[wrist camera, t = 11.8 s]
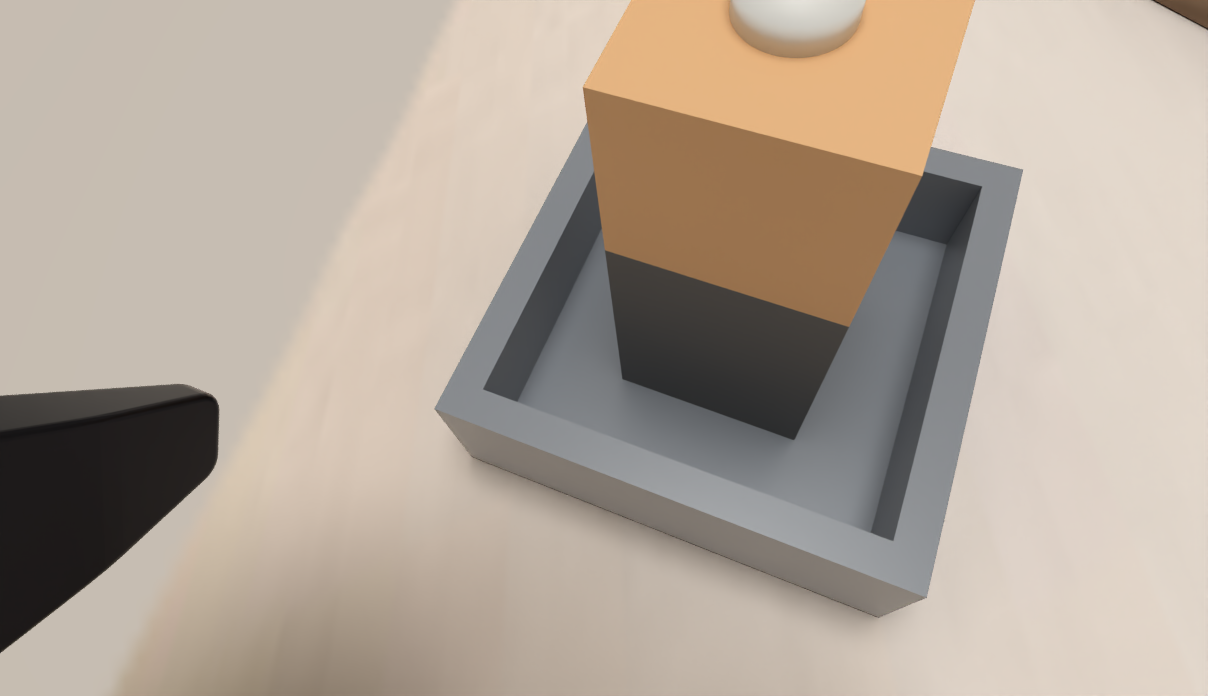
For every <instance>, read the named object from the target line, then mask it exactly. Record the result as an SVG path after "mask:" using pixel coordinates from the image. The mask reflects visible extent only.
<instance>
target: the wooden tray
mask: <svg viewBox="0 0 1208 696" xmlns="http://www.w3.org/2000/svg"><path fill="white" fill-rule="evenodd" d="M1155 1H1157V2H1159V3H1161V4H1162V5H1164V6H1166V7H1168V8H1170V9H1172V10H1174V11H1176V12H1178V13H1179V14H1181V15H1183V16H1185V17H1187V18H1189V19H1191V20H1193V21H1195V22H1196V23H1198V24H1200V25H1202V26H1204V27H1206V28H1208V0H1155Z"/></svg>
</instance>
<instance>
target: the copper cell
mask: <svg viewBox="0 0 1208 696" xmlns="http://www.w3.org/2000/svg"><path fill="white" fill-rule="evenodd" d="M974 2H975V0H631V2H630V4H629V5H628V7H627V9H626V11H625V13H624V14H623V16H622V18H621V20H620V21H619V23H618V25H617V27H616V29H615V30H614V32H613V34H612V36H611V38H610V39H609V41H608V43H607V45H606V47H605V48H604V50H603V52H602V54H601V56H600V57H599V59H598V61H597V63H596V64H595V66H594V68H593V70H592V72H591V73H590V75H589V77H588V79H587V81H586V82H585V84H584V86H583V92H584V100H585V107H586V114H587V122H588V129H589V136H590V144H591V151H592V159H593V166H594V173H595V181H596V188H597V196H598V203H599V210H600V218H601V225H602V232H603V240H604V247H605V255H606V262H607V269H608V277H609V284H610V292H611V299H612V306H613V314H614V321H615V328H616V336H617V343H618V351H619V358H620V365H621V373H622V379H623V380H626V381H629V382H632V383H635V384H638V385H640V386H643V387H646V388H649V389H652V390H654V391H657V392H660V393H663V394H666V395H668V396H671V397H674V398H677V399H680V400H682V401H685V402H688V403H691V404H694V405H696V406H699V407H702V408H705V409H708V410H710V411H713V412H716V413H719V414H722V415H724V416H727V417H730V418H733V419H736V420H739V421H741V422H744V423H747V424H750V425H753V426H755V427H758V428H761V429H764V430H767V431H769V432H772V433H775V434H778V435H781V436H783V437H786V438H789V439H792V440H795V438H796V436H797V434H798V432H799V430H800V427H801V425H802V423H803V421H804V419H805V417H806V415H807V413H808V411H809V409H810V407H811V405H812V403H813V401H814V399H815V396H816V394H817V392H818V390H819V388H820V386H821V384H822V382H823V380H824V378H825V376H826V374H827V372H828V370H829V368H830V365H831V363H832V361H833V359H834V357H835V355H836V353H837V351H838V349H839V347H840V345H841V343H842V341H843V339H844V336H845V334H846V332H847V330H848V328H849V326H850V324H851V322H852V320H853V318H854V316H855V314H856V312H857V310H858V308H859V305H860V303H861V301H862V299H863V297H864V295H865V293H866V291H867V289H868V287H869V285H870V283H871V281H872V279H873V277H874V274H875V272H876V270H877V268H878V266H879V264H880V262H881V260H882V258H883V256H884V254H885V252H886V250H887V248H888V246H889V243H890V241H891V239H892V237H893V235H894V233H895V231H896V229H897V227H898V225H899V223H900V221H901V219H902V217H903V215H904V212H905V210H906V208H907V206H908V204H909V202H910V200H911V198H912V196H913V194H914V192H915V190H916V188H917V186H918V184H919V181H920V179H921V177H922V175H923V171H924V168H925V165H926V161H927V158H928V155H929V151H930V148H931V145H932V142H933V138H934V135H935V132H936V128H937V125H938V122H939V118H940V115H941V112H942V108H943V105H944V102H945V98H946V95H947V92H948V88H949V85H950V82H951V78H952V75H953V72H954V68H955V65H956V62H957V58H958V55H959V52H960V48H961V45H962V42H963V38H964V35H965V32H966V28H967V25H968V22H969V18H970V15H971V12H972V8H973V5H974Z"/></svg>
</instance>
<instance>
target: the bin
mask: <svg viewBox="0 0 1208 696" xmlns="http://www.w3.org/2000/svg"><path fill="white" fill-rule="evenodd" d="M1022 172H1023V170H1022V169H1018V168H1014V167H1010V166H1006V165H1002V164H998V163H994V162H990V161H986V160H982V159H977V158H973V157H969V156H965V155H961V154H957V153H953V152H949V151H945V150H941V149H937V148H933V147H931V148H930V151H929V155H928V158H927V161H926V165H925V168H924V171H923V175H922V177H921V179H920V181H919V184H918V186H917V188H916V190H915V192H914V194H913V196H912V198H911V200H910V202H909V204H908V206H907V208H906V210H905V212H904V215H903V217H902V219H901V221H900V223H899V225H898V227H897V229H896V231H895V233H894V235H893V237H892V239H891V241H890V243H889V246H888V248H887V250H886V252H885V254H884V256H883V258H882V260H881V262H880V264H879V266H878V268H877V270H876V272H875V274H874V277H873V279H872V281H871V283H870V285H869V287H868V289H867V291H866V293H865V295H864V297H863V299H862V301H861V303H860V305H859V308H858V310H857V312H856V314H855V316H854V318H853V320H852V322H851V324H850V326H849V328H848V330H847V332H846V334H845V336H844V339H843V341H842V343H841V345H840V347H839V349H838V351H837V353H836V355H835V357H834V359H833V361H832V363H831V365H830V368H829V370H828V372H827V374H826V376H825V378H824V380H823V382H822V384H821V386H820V388H819V390H818V392H817V394H816V396H815V399H814V401H813V403H812V405H811V407H810V409H809V411H808V413H807V415H806V417H805V419H804V421H803V423H802V425H801V427H800V430H799V432H798V434H797V436H796V438H795V440H792V439H789V438H786V437H783V436H781V435H778V434H775V433H772V432H769V431H767V430H764V429H761V428H758V427H755V426H753V425H750V424H747V423H744V422H741V421H739V420H736V419H733V418H730V417H727V416H724V415H722V414H719V413H716V412H713V411H710V410H708V409H705V408H702V407H699V406H696V405H694V404H691V403H688V402H685V401H682V400H680V399H677V398H674V397H671V396H668V395H666V394H663V393H660V392H657V391H654V390H652V389H649V388H646V387H643V386H640V385H638V384H635V383H632V382H629V381H626V380H623V379H622V373H621V365H620V358H619V351H618V343H617V336H616V328H615V321H614V314H613V306H612V299H611V292H610V284H609V277H608V269H607V262H606V255H605V247H604V240H603V232H602V225H601V218H600V210H599V203H598V196H597V188H596V181H595V173H594V166H593V159H592V151H591V144H590V136H589V129H588V122H587V124H586V125H585V127H584V129H583V131H582V133H581V135H580V137H579V139H578V140H577V142H576V144H575V146H574V148H573V150H572V152H571V154H570V155H569V157H568V159H567V161H566V163H565V165H564V167H563V169H562V170H561V172H560V174H559V176H558V178H557V180H556V182H555V184H554V185H553V187H552V189H551V191H550V193H549V195H548V197H547V199H546V200H545V202H544V204H543V206H542V208H541V210H540V212H539V214H538V215H537V217H536V219H535V221H534V223H533V225H532V227H531V229H530V230H529V232H528V234H527V236H526V238H525V240H524V242H523V244H522V245H521V247H520V249H519V251H518V253H517V255H516V257H515V259H514V261H513V262H512V264H511V266H510V268H509V270H508V272H507V274H506V276H505V277H504V279H503V281H502V283H501V285H500V287H499V289H498V291H497V292H496V294H495V296H494V298H493V300H492V302H491V304H490V306H489V307H488V309H487V311H486V313H485V315H484V317H483V319H482V321H481V322H480V324H479V326H478V328H477V330H476V332H475V334H474V336H473V337H472V339H471V341H470V343H469V345H468V347H467V349H466V351H465V352H464V354H463V356H462V358H461V360H460V362H459V364H458V366H457V367H456V369H455V371H454V373H453V375H452V377H451V379H450V381H449V382H448V384H447V386H446V388H445V390H444V392H443V394H442V396H441V397H440V399H439V401H438V403H437V405H436V407H435V410H436V411H437V413H438V414H439V415H440V417H441V418H442V419H443V420H444V422H445V423H446V424H447V426H448V427H449V428H450V429H451V431H452V432H453V433H454V434H455V436H456V437H457V438H458V440H459V441H460V442H461V443H462V445H463V446H464V447H465V448H466V450H467V451H468V452H469V454H470V455H471V456H472V457H474V458H477V459H479V460H482V461H484V462H487V463H489V464H492V465H494V466H497V467H499V468H502V469H504V470H507V471H509V472H512V473H515V474H517V475H520V476H522V477H525V478H527V479H530V480H532V481H535V482H537V483H540V484H542V485H545V486H547V487H550V488H552V489H555V490H558V491H560V492H563V493H565V494H568V495H570V496H573V497H575V498H578V499H580V500H583V501H585V502H588V503H590V504H593V505H595V506H598V507H601V508H603V509H606V510H608V511H611V512H613V513H616V514H618V515H621V516H623V517H626V518H628V519H631V520H633V521H636V522H638V523H641V524H644V525H646V526H649V527H651V528H654V529H656V530H659V531H661V532H664V533H666V534H669V535H671V536H674V537H676V538H679V539H681V540H684V541H687V542H689V543H692V544H694V545H697V546H699V547H702V548H704V549H707V550H709V551H712V552H714V553H717V554H719V555H722V556H724V557H727V558H730V559H732V560H735V561H737V562H740V563H742V564H745V565H747V566H750V567H752V568H755V569H757V570H760V571H762V572H765V573H767V574H770V575H773V576H775V577H778V578H780V579H783V580H785V581H788V582H790V583H793V584H795V585H798V586H800V587H803V588H805V589H808V590H810V591H813V592H816V593H818V594H821V595H823V596H826V597H828V598H831V599H833V600H836V601H838V602H841V603H843V604H846V605H848V606H851V607H853V608H856V609H859V610H861V611H864V612H866V613H869V614H871V615H874V616H876V617H881V616H883V615H886V614H888V613H890V612H893V611H895V610H898V609H900V608H903V607H905V606H907V605H910V604H912V603H915V602H917V601H920V600H922V599H924V598H927V593H928V589H929V585H930V580H931V576H932V571H933V567H934V562H935V558H936V554H937V549H938V545H939V540H940V536H941V531H942V527H943V523H944V518H945V514H946V509H947V505H948V500H949V496H950V492H951V487H952V483H953V478H954V474H955V469H956V465H957V460H958V456H959V452H960V447H961V443H962V438H963V434H964V429H965V425H966V421H967V416H968V412H969V407H970V403H971V398H972V394H973V390H974V385H975V381H976V376H977V372H978V367H979V363H980V359H981V354H982V350H983V345H984V341H985V336H986V332H987V328H988V323H989V319H990V314H991V310H992V305H993V301H994V297H995V292H996V288H997V283H998V279H999V274H1000V270H1001V265H1002V261H1003V257H1004V252H1005V248H1006V243H1007V239H1008V234H1009V230H1010V226H1011V221H1012V217H1013V212H1014V208H1015V203H1016V199H1017V195H1018V190H1019V186H1020V181H1021V177H1022Z"/></svg>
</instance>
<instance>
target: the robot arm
mask: <svg viewBox="0 0 1208 696" xmlns="http://www.w3.org/2000/svg"><path fill="white" fill-rule="evenodd" d="M218 434H219V405H218V403H217V400H216V399H215V398H214V397H213V396H212V395H211V394H209V393H206V392H204V391H201V390H199V389H197V388H194V387H192V386H188V385H184V384H173V385H172V384H171V385H156V386H141V387H127V388H112V389H96V390H81V391H66V392H52V393H51V392H50V393H35V394H19V395H5V396H0V653H1V652H2V651H4V650H5V649H6V648H7V647H9V646H10V645H11V644H13V643H14V642H15V641H17V640H18V639H19V638H20V637H22V636H23V635H24V634H26V633H27V632H28V631H29V630H31V629H32V628H33V627H34V626H36V625H37V624H38V623H40V622H41V621H42V620H43V619H45V618H46V617H47V616H49V615H50V614H51V613H52V612H54V611H55V610H56V609H58V608H59V607H60V606H62V605H63V604H64V603H65V602H67V601H68V600H69V599H71V598H72V597H73V596H74V595H76V594H77V593H78V592H80V590H82V589H83V588H85V587H86V586H87V585H88V584H90V583H91V582H92V581H93V580H95V579H96V578H97V577H98V576H99V575H101V574H102V573H103V572H104V571H106V570H107V569H108V568H109V567H110V566H111V565H112V564H114V563H115V562H116V561H117V560H118V559H119V558H120V557H122V556H123V555H124V554H125V553H126V552H127V551H128V550H129V549H130V548H131V547H132V546H133V545H135V544H136V543H137V542H138V541H139V540H140V539H141V538H142V537H143V536H144V535H145V534H147V533H148V532H149V531H150V530H151V529H152V528H153V527H154V526H155V525H156V524H157V523H158V522H159V521H161V519H162V518H163V517H165V516H166V515H167V514H168V513H169V512H170V511H171V510H172V509H174V508H175V507H176V506H177V505H178V504H179V503H180V502H181V501H182V500H183V499H184V498H185V497H187V496H188V494H190V493H191V492H192V491H193V490H194V489H195V488H196V487H197V486H198V485H200V484H201V483H202V482H203V481H204V480H205V479H206V478H207V477H208V476H209V475H210V473H211V472H212V470H213V469H214V467H215V465H216V462H217V458H218Z"/></svg>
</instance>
